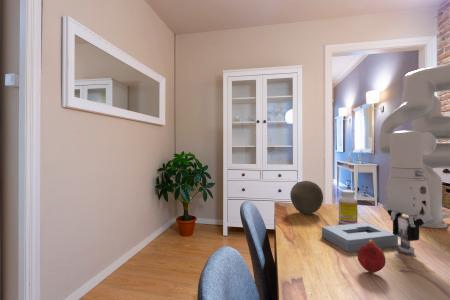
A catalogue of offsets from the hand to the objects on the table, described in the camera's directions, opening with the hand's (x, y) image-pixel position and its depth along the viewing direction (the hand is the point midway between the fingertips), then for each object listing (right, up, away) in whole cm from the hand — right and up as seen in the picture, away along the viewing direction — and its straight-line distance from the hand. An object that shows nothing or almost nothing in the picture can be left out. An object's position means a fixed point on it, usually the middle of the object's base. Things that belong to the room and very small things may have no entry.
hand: (405, 236), depth 68 cm
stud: (0, -4, 0) cm, 4 cm away
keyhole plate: (-9, -4, +8) cm, 13 cm away
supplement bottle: (-3, -4, +26) cm, 27 cm away
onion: (-17, -5, -11) cm, 21 cm away
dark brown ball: (-15, -4, +39) cm, 42 cm away
